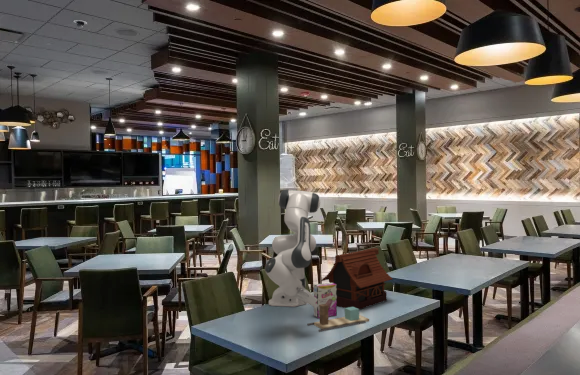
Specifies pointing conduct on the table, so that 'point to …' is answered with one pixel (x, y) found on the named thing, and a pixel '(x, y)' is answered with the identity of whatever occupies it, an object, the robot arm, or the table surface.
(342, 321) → the tan long piece
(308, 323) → the track
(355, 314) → the cube
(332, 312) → the candy bar box
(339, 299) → the house
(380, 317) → the table surface
